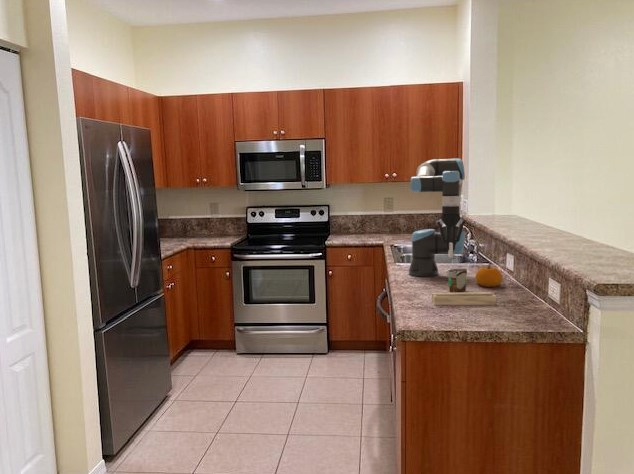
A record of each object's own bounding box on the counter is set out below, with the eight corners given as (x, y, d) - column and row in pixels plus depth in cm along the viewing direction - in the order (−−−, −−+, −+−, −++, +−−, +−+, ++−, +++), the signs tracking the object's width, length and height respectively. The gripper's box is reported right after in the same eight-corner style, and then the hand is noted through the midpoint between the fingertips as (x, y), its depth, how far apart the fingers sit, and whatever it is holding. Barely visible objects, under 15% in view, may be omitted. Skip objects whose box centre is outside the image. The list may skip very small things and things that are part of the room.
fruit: (504, 284, 224) (505, 263, 222) (498, 289, 214) (499, 267, 213) (479, 281, 230) (479, 261, 229) (472, 287, 220) (472, 265, 219)
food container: (453, 289, 217) (454, 267, 216) (467, 290, 213) (467, 268, 212) (442, 294, 208) (442, 272, 207) (455, 296, 204) (455, 273, 203)
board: (431, 301, 198) (431, 291, 197) (491, 300, 196) (491, 291, 195) (434, 304, 192) (434, 295, 191) (495, 304, 190) (495, 294, 189)
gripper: (437, 206, 213) (437, 258, 215) (467, 205, 212) (466, 258, 214) (434, 205, 220) (434, 256, 223) (463, 204, 219) (463, 255, 222)
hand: (450, 257), depth 219 cm, fingers closed
